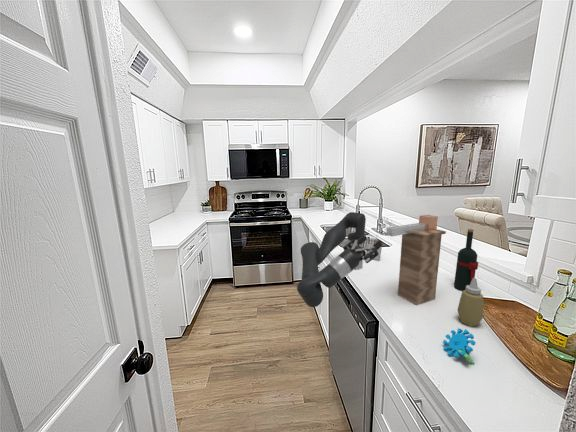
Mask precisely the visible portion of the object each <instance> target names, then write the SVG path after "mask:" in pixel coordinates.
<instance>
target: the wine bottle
mask: <svg viewBox="0 0 576 432" xmlns="http://www.w3.org/2000/svg"><path fill="white" fill-rule="evenodd" d="M474 231H475V230H474V229H472V228H468V229H467V231H466V233H467V235H466V241H465V242H466V243H465V247H463V248H461V249H460V250H459V251H458V253H457V258H456V266H455V273H454V274H455V275H454V283H453V288H454V289H456V290H458V291H460V292H462V291H464V290H465V289H466V286H467V285H470V283H471V281H472V279H473V278H476V277H475V276H476V270H478V269H479V262H478V261H477V260H478V253H477V252H476V251H475V250H474V249H473V248H472V245H473V237H474Z"/></svg>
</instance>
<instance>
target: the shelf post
mask: <svg viewBox="0 0 576 432" xmlns="http://www.w3.org/2000/svg"><path fill="white" fill-rule="evenodd" d="M445 234H447V232H446V231H445V230H443V229H442V230H441V229H438V228H437V230H433V231H422V232H416V233H410V234H403V235H401V247H400V258H399V260H400V261H399V273H398V288H397V296H399V297H400V298H402V299H404V300H406V301H407V302H409V303H411V304H413V305H414V306H419V305H421V304H425V303H428V302H431V301H435V299H436V291H437V283H438V282H437V280H438V273H439V263H440V255H441V254H440V253H441V244H442V243H441V242H442V235H445Z"/></svg>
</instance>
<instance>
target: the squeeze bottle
mask: <svg viewBox="0 0 576 432" xmlns="http://www.w3.org/2000/svg"><path fill="white" fill-rule="evenodd" d="M481 292H482V288H480V287H479V286H478V280H477V278H476V277H475V278H473V279H472V281H471V283H470V285H467V286H466V289H465V290H464V291H461V295H460V299H459V302H458V306H457V309H456V310H457V314H458V317H459V321H460V322H461V323H463V324H464V325H466V326H470V327H478V326H479V324H480V323H481V321H482V320H483V319H484V295H483V294H482V293H481Z"/></svg>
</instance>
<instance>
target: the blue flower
mask: <svg viewBox="0 0 576 432" xmlns="http://www.w3.org/2000/svg"><path fill="white" fill-rule="evenodd" d="M450 333H451V335H450V334H448V333H447V334H446V335H444V337H445V338H446V339H448V340H449V341H447V340H446V339H443V341H442V344H444V346H443V350H444V352H446V353H447V354H448V355H449V356H450V357H452V356H454V357H455V359H459V358H460V355H461V356H462V357H463V359H465V361H469V363H471V364H472V365H475V361H473V359H472V358H471V355H470V354H471V352H473V351H474V349H473V347H472V346H475V345H476V341H475V340H474V339H475V336H474V335H473V333H470V332H469V330H467V329H466V328H465V329H464V330H463V329H462V328H459V327H458V328H457V332H456V331H455V330H454V329H453V330H452V329H451V330H450ZM470 339H471V340H470ZM469 344H471V345H472V346H470V345H469Z"/></svg>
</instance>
